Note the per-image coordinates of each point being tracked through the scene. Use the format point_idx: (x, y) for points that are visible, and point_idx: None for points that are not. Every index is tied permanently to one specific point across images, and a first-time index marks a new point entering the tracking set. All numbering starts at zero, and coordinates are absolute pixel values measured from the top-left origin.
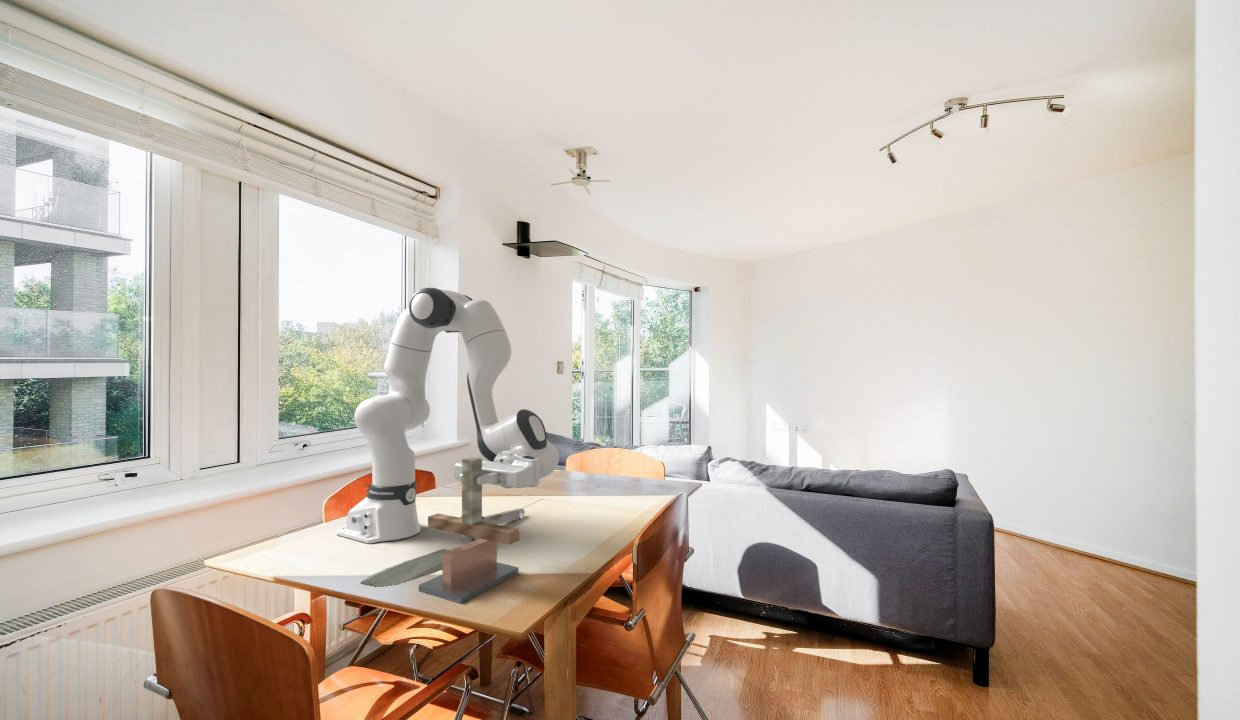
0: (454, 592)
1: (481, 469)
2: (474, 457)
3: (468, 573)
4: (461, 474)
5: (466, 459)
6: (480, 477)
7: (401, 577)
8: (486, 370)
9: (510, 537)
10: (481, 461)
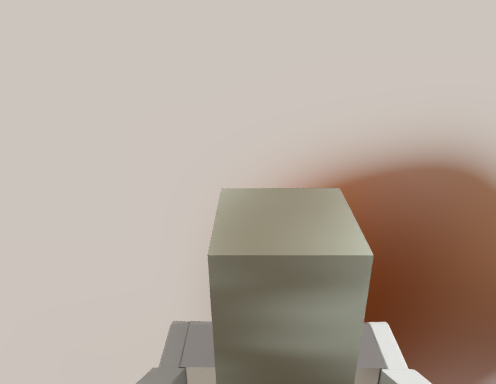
0: None
1: (215, 348)
2: (331, 256)
3: None
4: (373, 323)
5: (300, 193)
6: (171, 329)
7: None
8: None
9: None
10: (211, 280)
